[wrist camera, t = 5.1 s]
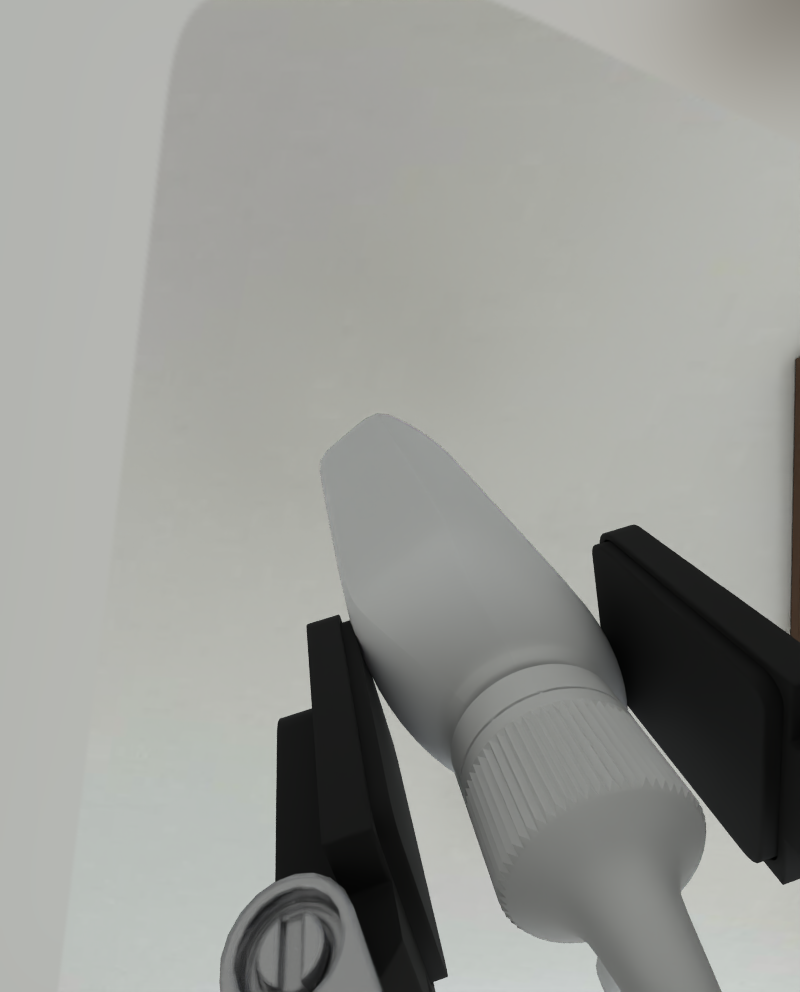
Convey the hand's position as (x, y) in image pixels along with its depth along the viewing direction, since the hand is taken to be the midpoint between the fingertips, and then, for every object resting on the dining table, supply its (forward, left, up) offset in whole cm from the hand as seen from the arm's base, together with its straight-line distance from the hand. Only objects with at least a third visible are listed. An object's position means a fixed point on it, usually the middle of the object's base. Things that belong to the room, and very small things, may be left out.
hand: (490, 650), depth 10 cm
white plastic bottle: (0, 0, -7) cm, 7 cm away
